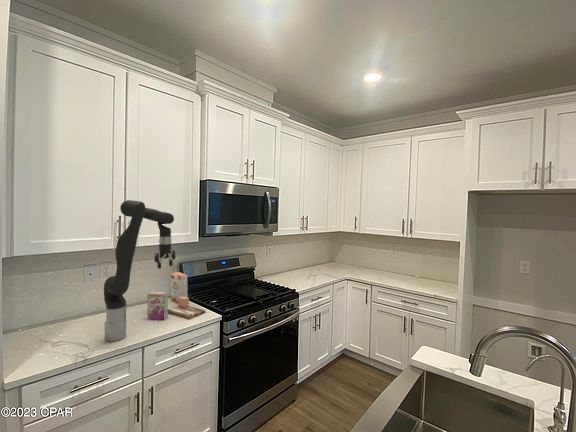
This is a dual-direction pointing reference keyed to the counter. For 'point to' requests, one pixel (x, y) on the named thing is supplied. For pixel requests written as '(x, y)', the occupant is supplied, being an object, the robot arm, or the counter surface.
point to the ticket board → (186, 312)
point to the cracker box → (178, 285)
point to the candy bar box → (157, 305)
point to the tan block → (183, 302)
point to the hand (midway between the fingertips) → (165, 267)
